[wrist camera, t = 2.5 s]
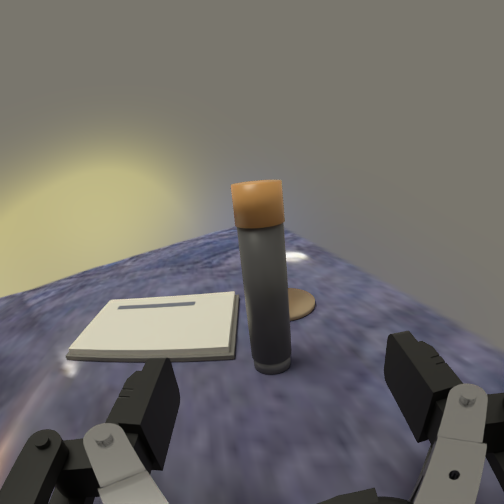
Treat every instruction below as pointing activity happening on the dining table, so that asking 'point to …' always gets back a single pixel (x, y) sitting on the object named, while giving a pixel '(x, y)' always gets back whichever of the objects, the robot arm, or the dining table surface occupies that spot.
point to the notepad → (161, 329)
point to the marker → (264, 271)
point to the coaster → (300, 303)
